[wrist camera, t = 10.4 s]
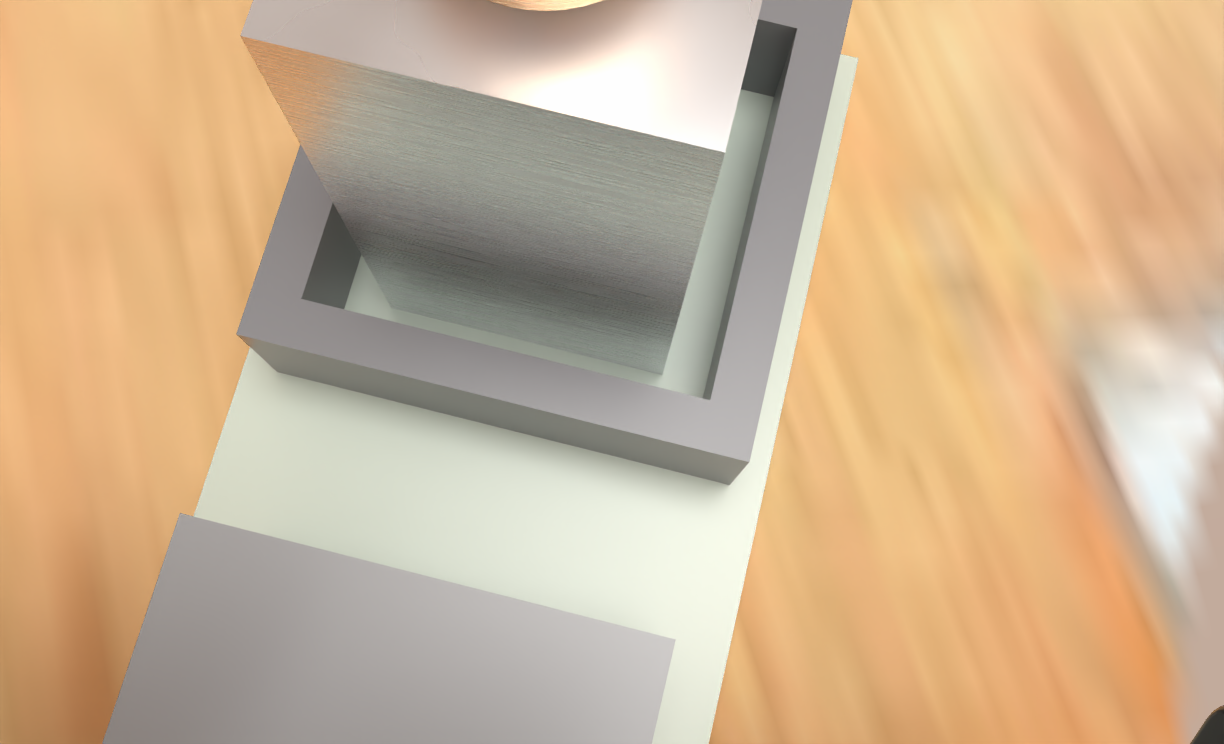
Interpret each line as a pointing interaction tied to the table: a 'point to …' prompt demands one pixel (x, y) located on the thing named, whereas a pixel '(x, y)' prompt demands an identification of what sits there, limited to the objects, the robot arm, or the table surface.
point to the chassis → (494, 481)
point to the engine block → (518, 152)
